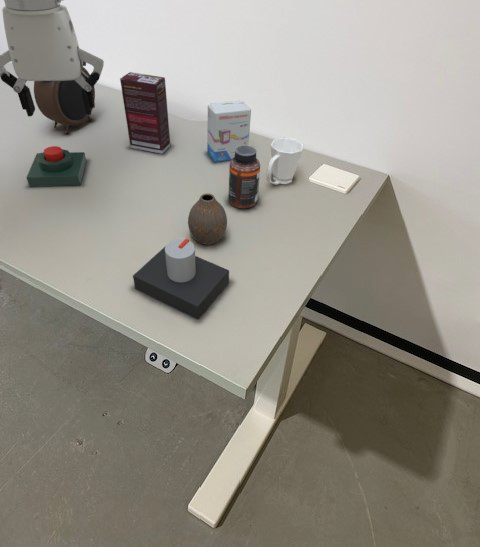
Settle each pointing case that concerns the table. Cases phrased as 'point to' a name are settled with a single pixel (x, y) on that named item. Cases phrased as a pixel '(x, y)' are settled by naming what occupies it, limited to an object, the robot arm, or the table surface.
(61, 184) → the green button base
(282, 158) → the cup
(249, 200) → the supplement bottle
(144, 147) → the supplement box
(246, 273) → the table surface
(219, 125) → the ink box
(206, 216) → the vase
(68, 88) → the alarm clock
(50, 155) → the lid button
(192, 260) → the dial
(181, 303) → the dial panel
